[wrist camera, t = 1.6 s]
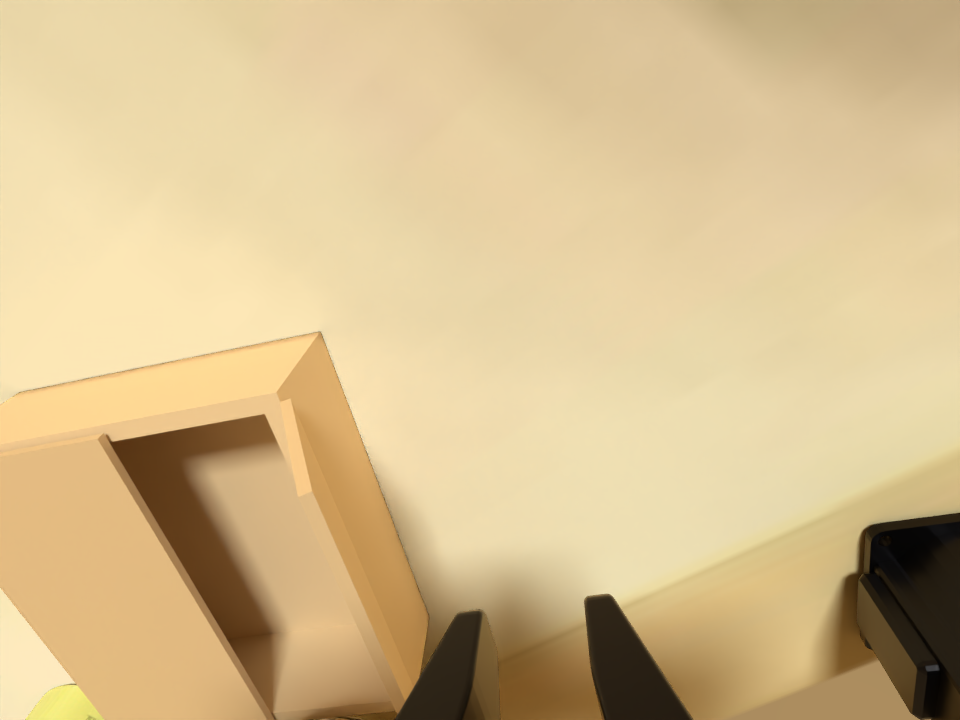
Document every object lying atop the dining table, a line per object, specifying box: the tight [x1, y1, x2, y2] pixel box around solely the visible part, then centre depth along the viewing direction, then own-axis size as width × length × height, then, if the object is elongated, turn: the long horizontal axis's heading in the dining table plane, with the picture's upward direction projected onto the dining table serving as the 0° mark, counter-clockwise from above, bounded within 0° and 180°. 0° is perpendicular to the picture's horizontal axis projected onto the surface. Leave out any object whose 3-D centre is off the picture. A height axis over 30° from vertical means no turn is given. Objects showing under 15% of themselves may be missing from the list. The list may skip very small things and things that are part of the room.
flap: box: [280, 398, 413, 715], centre depth 17 cm, size 5×14×1 cm
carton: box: [0, 332, 429, 720], centre depth 22 cm, size 12×14×5 cm
